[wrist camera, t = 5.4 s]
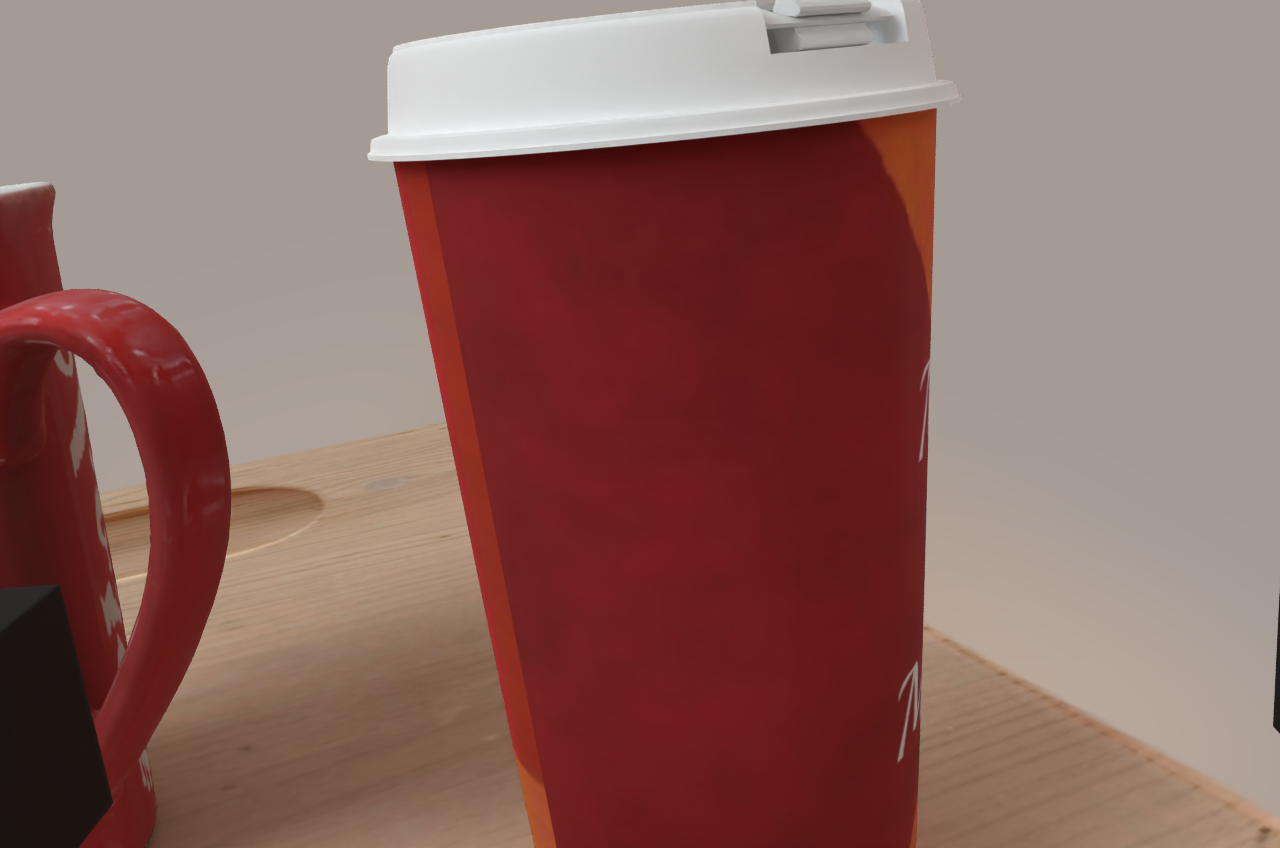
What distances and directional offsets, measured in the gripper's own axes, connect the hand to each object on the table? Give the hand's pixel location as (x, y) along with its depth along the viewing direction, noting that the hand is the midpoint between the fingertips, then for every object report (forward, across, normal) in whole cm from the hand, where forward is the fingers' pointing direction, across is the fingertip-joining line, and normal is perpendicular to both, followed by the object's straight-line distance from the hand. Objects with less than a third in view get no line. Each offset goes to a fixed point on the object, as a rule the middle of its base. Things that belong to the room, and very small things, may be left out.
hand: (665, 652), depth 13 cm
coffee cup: (+6, 0, -8) cm, 10 cm away
